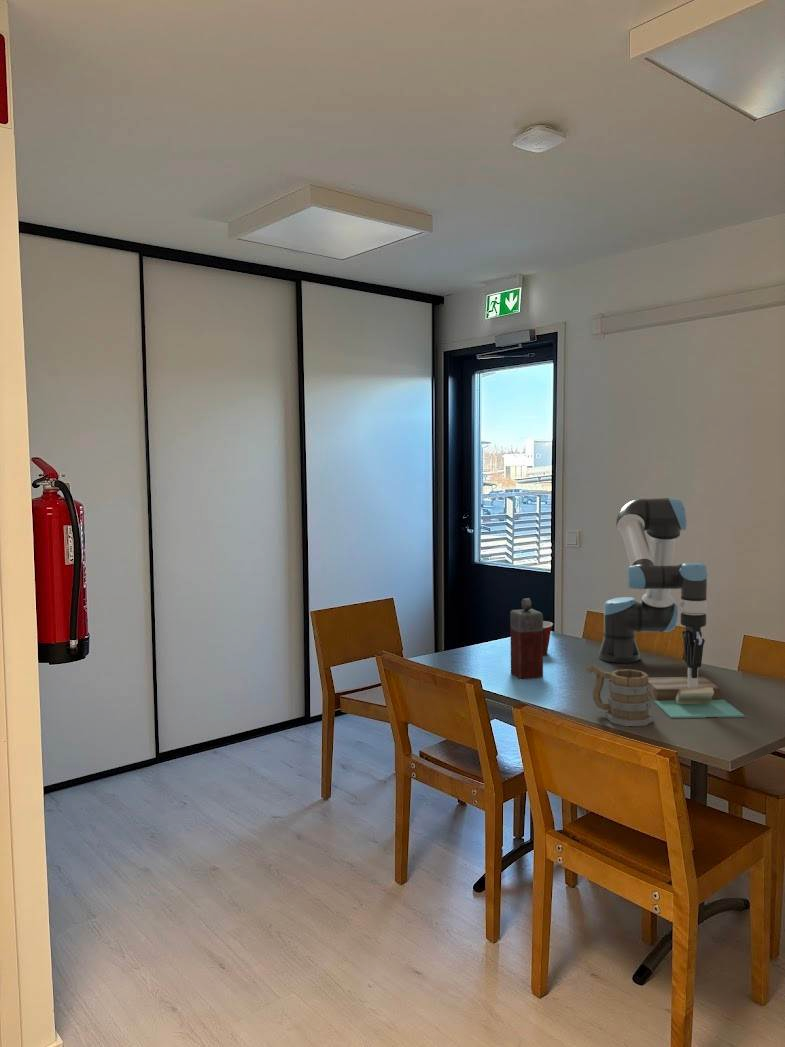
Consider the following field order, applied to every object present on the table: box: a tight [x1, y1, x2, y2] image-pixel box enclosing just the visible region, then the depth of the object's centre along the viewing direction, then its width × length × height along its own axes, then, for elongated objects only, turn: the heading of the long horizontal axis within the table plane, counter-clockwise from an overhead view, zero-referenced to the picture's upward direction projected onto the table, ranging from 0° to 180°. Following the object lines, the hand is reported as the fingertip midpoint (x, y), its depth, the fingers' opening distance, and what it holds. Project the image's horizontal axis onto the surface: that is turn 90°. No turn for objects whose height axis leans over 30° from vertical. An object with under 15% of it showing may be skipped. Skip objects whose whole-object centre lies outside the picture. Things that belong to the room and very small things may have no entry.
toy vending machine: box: [509, 597, 548, 680], centre depth 294 cm, size 9×11×28 cm
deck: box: [648, 676, 721, 701], centre depth 267 cm, size 14×20×4 cm
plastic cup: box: [543, 620, 554, 652], centre depth 327 cm, size 11×11×12 cm
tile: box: [676, 687, 714, 704], centre depth 255 cm, size 6×10×2 cm
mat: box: [653, 699, 746, 719], centre depth 252 cm, size 16×22×1 cm
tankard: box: [585, 664, 654, 728], centre depth 245 cm, size 20×13×15 cm, turn 48°
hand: (692, 687), depth 256 cm, fingers closed
